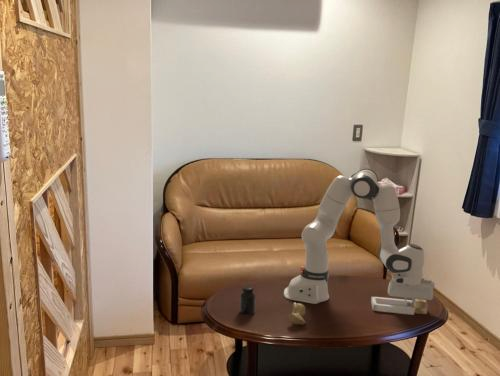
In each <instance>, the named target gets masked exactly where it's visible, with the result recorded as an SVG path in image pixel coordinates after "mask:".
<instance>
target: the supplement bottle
mask: <svg viewBox="0 0 500 376" xmlns="http://www.w3.org/2000/svg"><path fill="white" fill-rule="evenodd" d="M241 291H242V292H240V295H239V312H240V313H241V314H242V315H244V316H250V315H253V314H254V313H255V311H256V294H255V292H254V286H252V285H249V284H248V285H243V286H242V290H241Z"/></svg>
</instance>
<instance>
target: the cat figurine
mask: <svg viewBox="0 0 500 376" xmlns="http://www.w3.org/2000/svg"><path fill="white" fill-rule="evenodd" d="M292 304H293V306H292V307H293V309H292V313H288V314H287V317H288V319H290V322H291V323H293V324H295V325H301V326H303V325H305V324H306V323H307V321H306V320H305V318H304V317H303V316H304V315H305V314H306V306H305V304H303V303H301V302H300V303H299V302H297V303H296V301H295V302H293V303H292Z"/></svg>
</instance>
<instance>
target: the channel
mask: <svg viewBox="0 0 500 376" xmlns="http://www.w3.org/2000/svg"><path fill="white" fill-rule="evenodd" d="M411 300H412V299H411ZM411 300H410V299H407V302H411ZM370 303H371V309H372V311H373V312H382V313H390V314H391V313H393V314H401V315H410V316H411V315H413V316H414V315H415V311H414V310H415V309H414V306H412V307H409V306H405V300H404V298H403V299H401V298H391V297H381V296H374V295H373V296H371V298H370Z"/></svg>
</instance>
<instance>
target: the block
mask: <svg viewBox="0 0 500 376" xmlns="http://www.w3.org/2000/svg"><path fill="white" fill-rule="evenodd" d="M428 306H429V304H428V302H427V300H425V299H416V300H415V302H414V303H413V307H414V309H415V310H414V314H419V315H420V314H422V315H427V313H428Z"/></svg>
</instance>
